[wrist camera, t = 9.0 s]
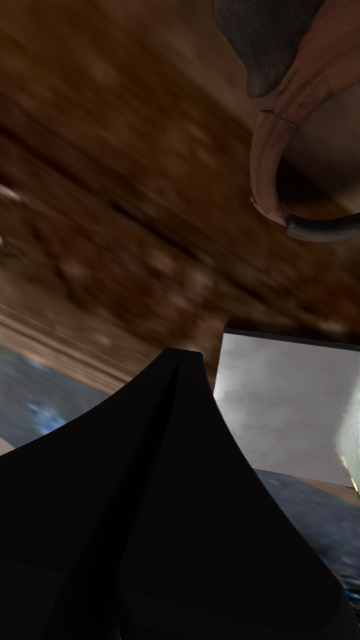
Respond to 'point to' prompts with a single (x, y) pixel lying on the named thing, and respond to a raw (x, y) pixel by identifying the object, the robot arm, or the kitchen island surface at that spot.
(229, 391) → the chassis
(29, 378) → the kitchen island surface
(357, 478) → the pale green block
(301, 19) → the pottery mug
